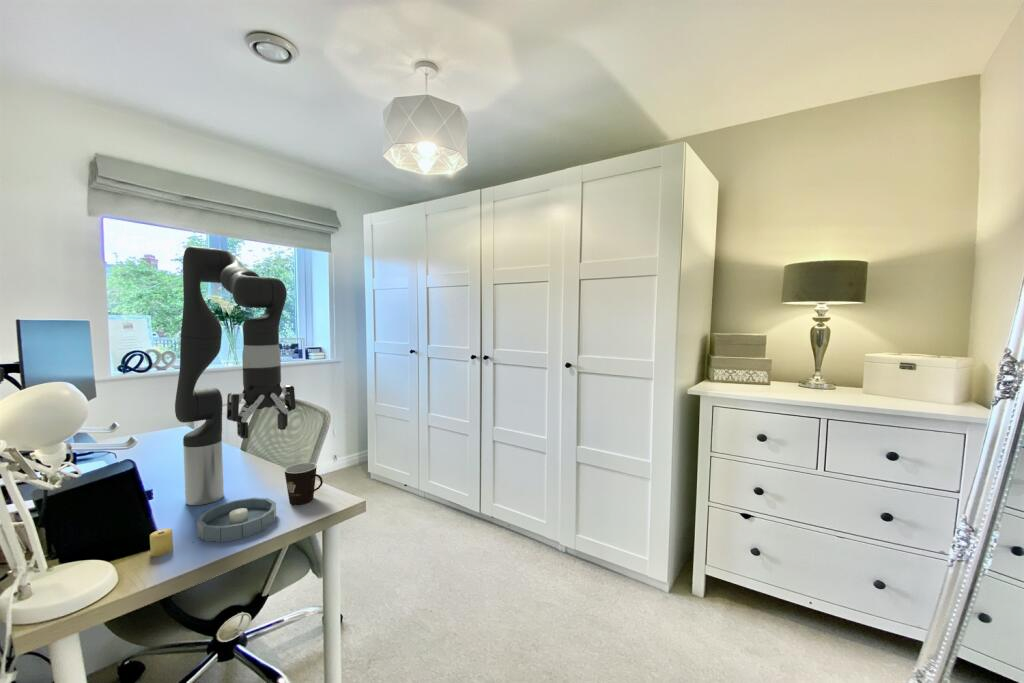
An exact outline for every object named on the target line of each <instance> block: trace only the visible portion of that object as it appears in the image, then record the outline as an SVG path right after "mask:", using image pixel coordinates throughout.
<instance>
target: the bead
mask: <svg viewBox="0 0 1024 683" xmlns="http://www.w3.org/2000/svg"><path fill="white" fill-rule="evenodd" d="M173 537H174V536H173V529H172V528H163V529H159V530H156V531H154V532H152V533H150V534H149V546H150V547H149V548H150V557H154V558H155V557H156V558H157V557H160V556H161V555H162V556H165V555H167V554H170V553H171V552H172V551H173V550H174V540H173ZM172 549H173V550H172ZM171 550H172V551H171ZM170 551H171V552H170ZM164 554H165V555H164ZM162 556H161V557H162Z"/></svg>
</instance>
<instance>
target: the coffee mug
mask: <svg viewBox="0 0 1024 683" xmlns="http://www.w3.org/2000/svg"><path fill="white" fill-rule="evenodd" d="M317 467H318V466H317V464H316V463H314V462H299V463H294V464H292V465H289V466H287V467H285V468H284V470H283V471H284V476H285V477H284V478H285V482H286V488H287V495H288V501H289V505H292V506H303V505H306V503H307V504H309V503H311V502H313V500H314V496H315V492H316V491H318V490H319V489H320V488H321V487H322V485H323V482H324V481H323V478H322V476H321V475H320V474H318V473H317ZM316 478H318V479H319V481H320V482H319V485H318V486H317V487H316ZM315 487H316V488H315ZM302 504H303V505H302Z"/></svg>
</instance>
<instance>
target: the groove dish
mask: <svg viewBox="0 0 1024 683" xmlns="http://www.w3.org/2000/svg"><path fill="white" fill-rule="evenodd" d="M276 518H277V503H276V502H275V501H274V500H272V499H271V498H267V497H249V498H248V497H247V498H240V499H236V500H232V501H228V502H225V503H222V504H217V505H216V506H213V507H212V508H210V509H208V510H206V511H204V512H203V513H202V514H201V515H200V517H199V518H198V519H197V522H196V523H197V536H198V535H199V536H200V537H199V536H198V537H199V538H201V539H202V540H203V541H204V540H205V541H204V542H212V541H216V542H215V543H223V542H224V543H225V542H229V541H235V540H241V539H246V538H247V537H250V536H253V535H255V534H258V533H261V532H263V531H264V530H266V529H267V528H268V527H271V525H273V524H274V523H275V520H276Z"/></svg>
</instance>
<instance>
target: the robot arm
mask: <svg viewBox="0 0 1024 683" xmlns="http://www.w3.org/2000/svg"><path fill="white" fill-rule="evenodd" d="M182 257H183V258H182V284H183V285H182V287H183V289H182V290H183V304H182V306H183V307H182V321H181V329H180V342H179V347H180V348H179V352H180V353H179V354H180V355H179V358H180V359H179V374H178V379H177V389H176V394H175V399H174V401H175V402H174V412H175V418H176V419H177V421H178V422H180V423H183V424H184V423H195V422H201V421H204V423H203V424H201V425H200V426H198V427H197V428H196V429H193V430H192V431H189V432H187V433H186V434H185V435H183V438H182V445H183V466H184V472H183V473H184V496H185V504H186V505H188V506H201V505H207V504H210V503H214V502H216V501H219V500H220V499H222V498H223V497H224V495H225V492H224V468H223V467H224V465H223V464H224V463H223V461H224V460H223V439H222V438H223V437H222V436H223V395H222V393H221V391H220V390H219V389H218V388H216V387H207V388H200V389H199V388H198V389H195V388H196V384H197V382H198V380H199V378H200V377H201V375H202V374H203V373H204V372H205V370H207V368H208V367H209V366H210V365H211V364H212V363H213V361H214V360H215V359H216V358H217V356H218V355H219V354H220V352H221V348H222V336H223V328H222V325H221V323H220V321H219V320H218V318H217V317H216V316H215V314H214V313H213V311H212V310H211V309H210V307H209V306H208V305H207V302H206V301H205V299H204V297H203V294H202V290H201V283H212V284H213V283H214V284H215V283H217V284H221V285H222V287H223V288H224V289H225V290H226V291H227V292H228V293H230V294H232V297H233V301H234V302H235V304H236V305H238V306H240V307H242V308H246V309H247V308H248V309H249V308H250V309H265V311H264V313H263V314H262V315H261V316H259V317H253V318H248V319H246V320H245V321H244V322H243V323H242V335H243V336H242V339H243V341H242V342H243V347H242V348H243V349H242V358H241V359H242V385H243V391H242V392H239V393H233V392H230V393H228V394H227V400H226V401H227V402H226V420H228V421H231V422H234V423H236V427H237V431H236V432H237V436H238V437H240V439H243V440H245V439H246V440H247V439H248V438H249V422H248V420H249V418H250V416H252V415H253V414H254V413H255V411H256V410H263V409H265V408H272V407H273V408H274V409H275V410H276V411H277V412H278V413H277V429H279V430H280V431H283V430H284V431H285V430H286V429H287V427H288V424H289V423H288V420H289V419H288V414H289V412H291V411H295V410H296V408H297V406H296V394H295V386H294V385H289V384H284V386H281V382H282V373H281V372H282V366H281V363H282V359H281V350H280V349H281V348H280V334H279V333H280V331H279V328H280V323H281V318H282V314H283V311H284V307H285V303H286V300H287V294H288V291H287V287H286V285H285V284H284V282H283V281H282V280H281V279H279V278H277V277H268V276H267V277H264V276H260V275H259V274H257V272H255V271H252V270H251V269H249V268H247V267H245V266H243V264H242V263H241V261H239V260H238V258H236V256H235V255H233V253H231V252H230V251H228V250H225V249H221V248H213V247H206V246H205V247H204V246H203V247H202V246H193V245H190V246H187V247H186V248H185V250H184V253H183V256H182ZM281 395H283V397H284V402H283V401H282V400H281V399H280V397H281ZM242 399H243V400H244V401H245V402H244V404H243V405H242V406H241V408H239V407H240V403H241V402H242Z"/></svg>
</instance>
